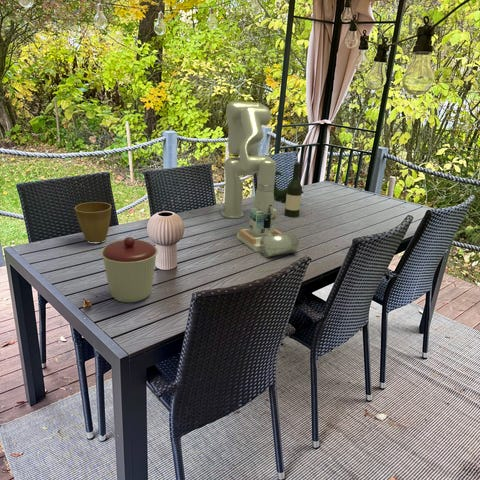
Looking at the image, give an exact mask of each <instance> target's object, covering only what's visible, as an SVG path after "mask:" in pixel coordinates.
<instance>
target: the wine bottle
mask: <svg viewBox="0 0 480 480" xmlns="http://www.w3.org/2000/svg"><path fill="white" fill-rule="evenodd" d="M300 169H301V163H300V162H299V161H295V162H294V165H293V172H292V179H291V180H290V181H289V183H288V184H287V187H286V188H287V195H286V200H285V205H284V216H285V217H287V218H293V219H294V218H299V217H300V209H301V203H302V201H301V199H302V194H303V193H302V191H303V186H302V184H301V181H300V179H299V177H300V172H301V170H300ZM301 193H302V194H301Z"/></svg>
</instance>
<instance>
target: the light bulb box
mask: <svg viewBox="0 0 480 480" xmlns="http://www.w3.org/2000/svg"><path fill="white" fill-rule="evenodd" d="M273 211H274V214H275V215H274V216H273V218H272V220H271V224H270V228H264V220H265V214H262V211H260V210H258V209H257V208H254V207H251V208H250V211H249V212H250V213H249V226H248V227H249V230H250V231H252V232H253V233H254V234H264V233H273V232H275V229H276V224H277V217H278V216H277V215H278V210H277V209H276V208H273ZM267 213H269V211H268V212H267ZM268 216H269V214H268V215H267V217H268Z"/></svg>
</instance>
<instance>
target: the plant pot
mask: <svg viewBox="0 0 480 480" xmlns="http://www.w3.org/2000/svg"><path fill="white" fill-rule="evenodd" d="M74 210H75V211H74V213H75V215H76V218H77V222H78V224H79V227H80V230H81V232H82V234H83V236H84V238H85V240H86V242H87V241H89V242H102V241H104V240H105V241H106V239H107V236H108V233H109V229H110V228H109V227H110V223H111V215H112V204H110V203H107V202H103V201H91V202H89V201H88V202H83V203H80V204H77V205H75V207H74Z"/></svg>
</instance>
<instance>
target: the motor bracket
mask: <svg viewBox="0 0 480 480" xmlns="http://www.w3.org/2000/svg"><path fill="white" fill-rule="evenodd" d="M236 238H237V239H238V240H240V241H241V242H242V243H244V244H245V245H246V246H247V247H249V248H250V249H251V250H253V251H254V252H256V253H257V252H258V253H259V252H261V253H262V255H263V256H264V257H265V258H269V257H275V256H280V255H286V254H292V253H296V252H297V251H298V248H299V238H298V237H297V235H296V234H295V232H292V231H291V232H284V233H283V232H282V231H280V230H278V229H276V228H275V232H273V233H264V234H254V233H253V232H252V231H250V230H249V228H242V229H239V230H238V232H236Z"/></svg>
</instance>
